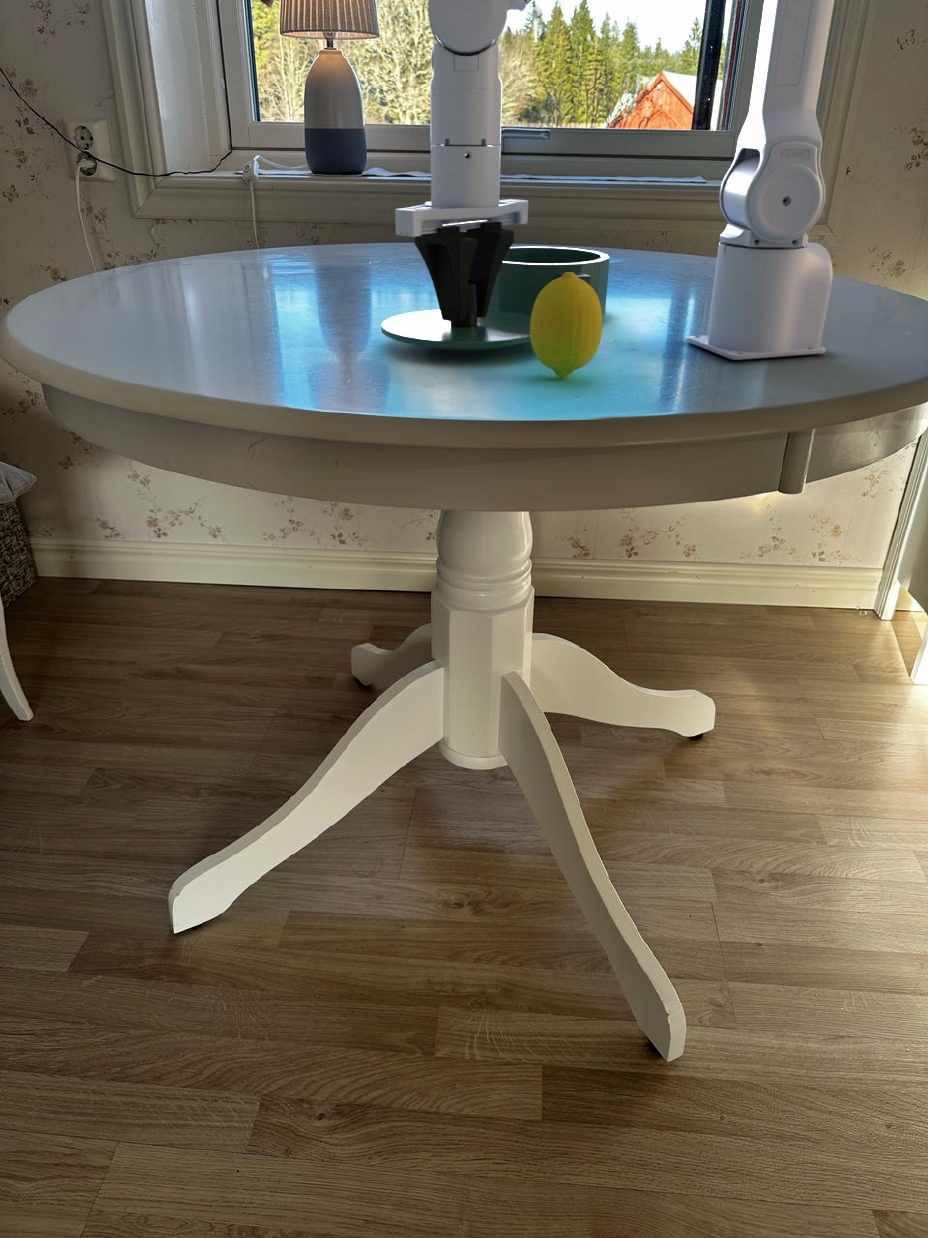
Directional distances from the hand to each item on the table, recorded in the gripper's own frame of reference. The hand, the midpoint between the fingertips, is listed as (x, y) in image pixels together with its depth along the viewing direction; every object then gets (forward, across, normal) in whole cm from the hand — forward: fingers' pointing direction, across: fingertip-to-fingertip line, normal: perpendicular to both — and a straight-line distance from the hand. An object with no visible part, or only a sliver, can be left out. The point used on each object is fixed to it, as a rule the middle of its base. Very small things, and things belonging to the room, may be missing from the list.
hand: (464, 318), depth 81 cm
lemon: (+3, +3, +13) cm, 14 cm away
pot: (+2, -16, -4) cm, 17 cm away
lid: (+1, 0, 0) cm, 1 cm away
